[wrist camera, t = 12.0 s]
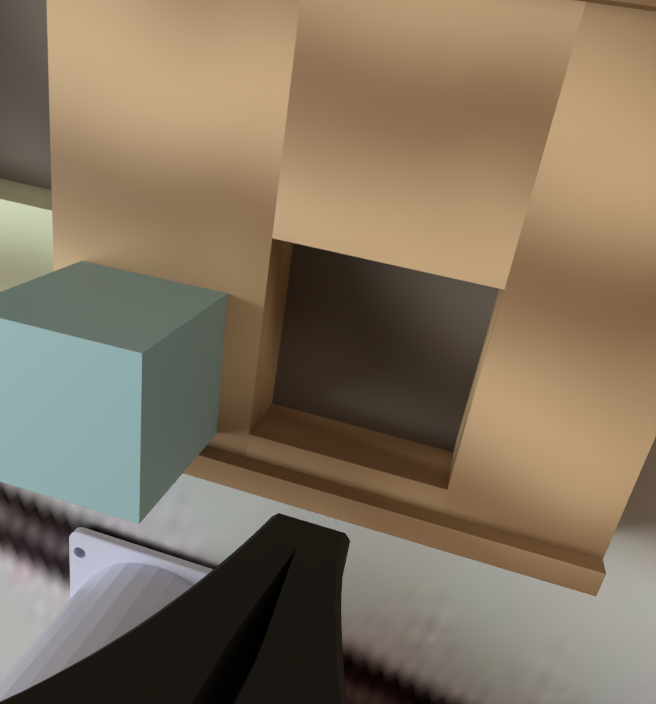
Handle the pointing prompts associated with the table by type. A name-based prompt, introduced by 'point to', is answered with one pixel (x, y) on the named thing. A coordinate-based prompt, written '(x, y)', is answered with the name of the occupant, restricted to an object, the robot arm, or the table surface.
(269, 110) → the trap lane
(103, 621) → the robot arm
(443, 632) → the table surface
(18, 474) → the teal block
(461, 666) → the table surface
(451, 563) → the table surface
